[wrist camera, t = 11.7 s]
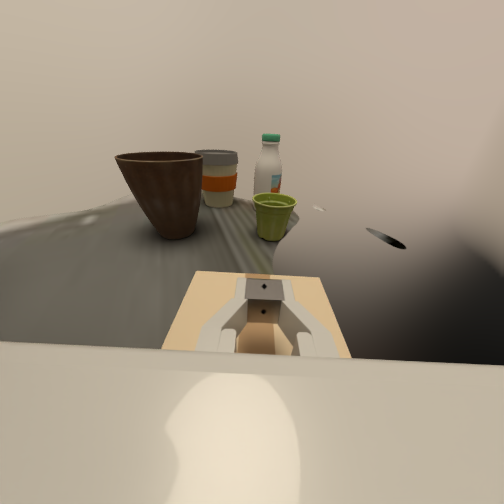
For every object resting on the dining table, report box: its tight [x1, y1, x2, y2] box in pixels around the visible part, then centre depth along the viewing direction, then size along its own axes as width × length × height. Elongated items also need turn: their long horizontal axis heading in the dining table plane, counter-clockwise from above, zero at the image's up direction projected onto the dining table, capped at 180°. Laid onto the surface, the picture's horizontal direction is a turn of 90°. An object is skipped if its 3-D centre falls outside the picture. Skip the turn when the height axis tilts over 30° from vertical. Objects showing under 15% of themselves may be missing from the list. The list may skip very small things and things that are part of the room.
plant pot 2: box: [252, 193, 297, 241], centre depth 42 cm, size 9×9×9 cm
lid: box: [161, 271, 351, 358], centre depth 13 cm, size 12×12×1 cm
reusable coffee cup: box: [195, 150, 238, 208], centre depth 58 cm, size 13×13×15 cm
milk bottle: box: [253, 134, 282, 210], centre depth 53 cm, size 8×8×20 cm
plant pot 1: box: [115, 152, 203, 239], centre depth 39 cm, size 15×15×16 cm
